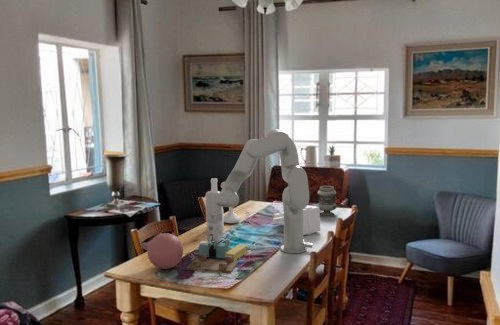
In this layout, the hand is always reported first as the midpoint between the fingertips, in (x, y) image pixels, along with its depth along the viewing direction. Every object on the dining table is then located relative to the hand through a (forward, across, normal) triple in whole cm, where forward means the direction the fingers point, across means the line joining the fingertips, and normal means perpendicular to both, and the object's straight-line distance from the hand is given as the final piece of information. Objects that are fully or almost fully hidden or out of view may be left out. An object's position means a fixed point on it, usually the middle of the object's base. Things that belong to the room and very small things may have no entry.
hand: (215, 253), depth 212 cm
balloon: (+1, -18, +19) cm, 26 cm away
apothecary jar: (+1, +87, -47) cm, 99 cm away
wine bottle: (+1, +39, +12) cm, 41 cm away
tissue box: (+1, +51, -31) cm, 60 cm away
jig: (+1, -13, -3) cm, 13 cm away
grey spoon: (+1, +59, +9) cm, 60 cm away
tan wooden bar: (+1, +1, -10) cm, 10 cm away
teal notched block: (+1, 0, 0) cm, 1 cm away
